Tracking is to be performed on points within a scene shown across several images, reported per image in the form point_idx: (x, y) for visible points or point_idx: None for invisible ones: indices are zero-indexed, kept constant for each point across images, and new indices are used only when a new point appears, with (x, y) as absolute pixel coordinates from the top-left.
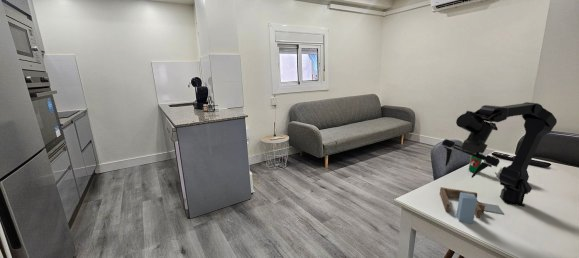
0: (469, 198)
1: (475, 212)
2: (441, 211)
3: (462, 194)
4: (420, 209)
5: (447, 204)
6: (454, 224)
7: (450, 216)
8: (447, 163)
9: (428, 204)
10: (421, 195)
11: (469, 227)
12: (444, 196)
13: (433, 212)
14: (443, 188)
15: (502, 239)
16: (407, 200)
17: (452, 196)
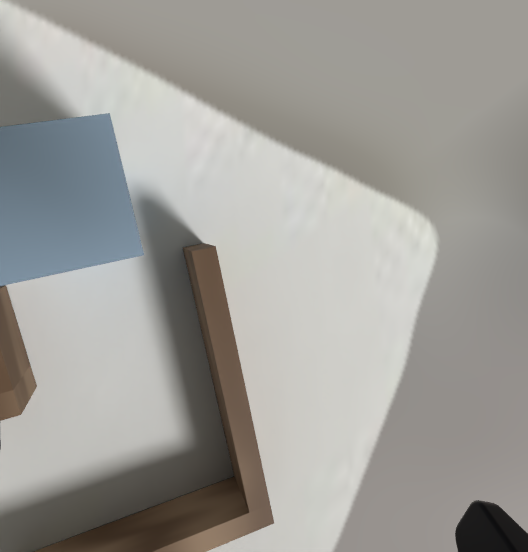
0: (38, 126)
1: (8, 321)
2: (227, 232)
3: (118, 203)
4: (342, 180)
5: (210, 247)
6: (141, 94)
7: (171, 195)
8: (515, 549)
9: (306, 280)
10: (353, 381)
11: (45, 106)
12: (239, 371)
13: (271, 187)
14: (253, 514)
15: None
16: (417, 254)
17: (176, 502)
